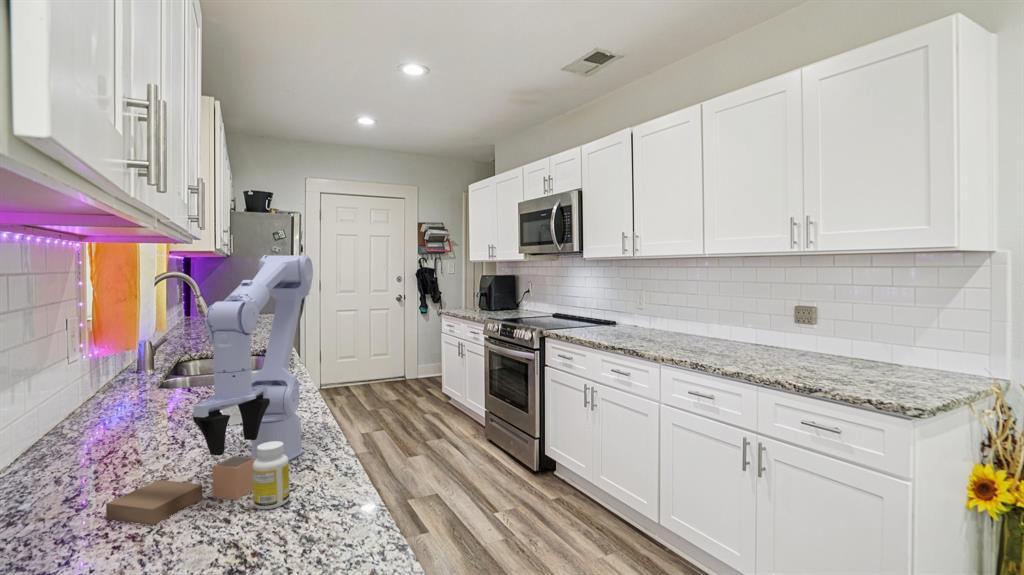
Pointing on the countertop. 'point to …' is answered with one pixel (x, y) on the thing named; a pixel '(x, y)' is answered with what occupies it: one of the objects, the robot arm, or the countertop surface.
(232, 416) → the white cup
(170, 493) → the walnut block
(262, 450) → the supplement bottle
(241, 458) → the terracotta pot
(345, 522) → the countertop surface
